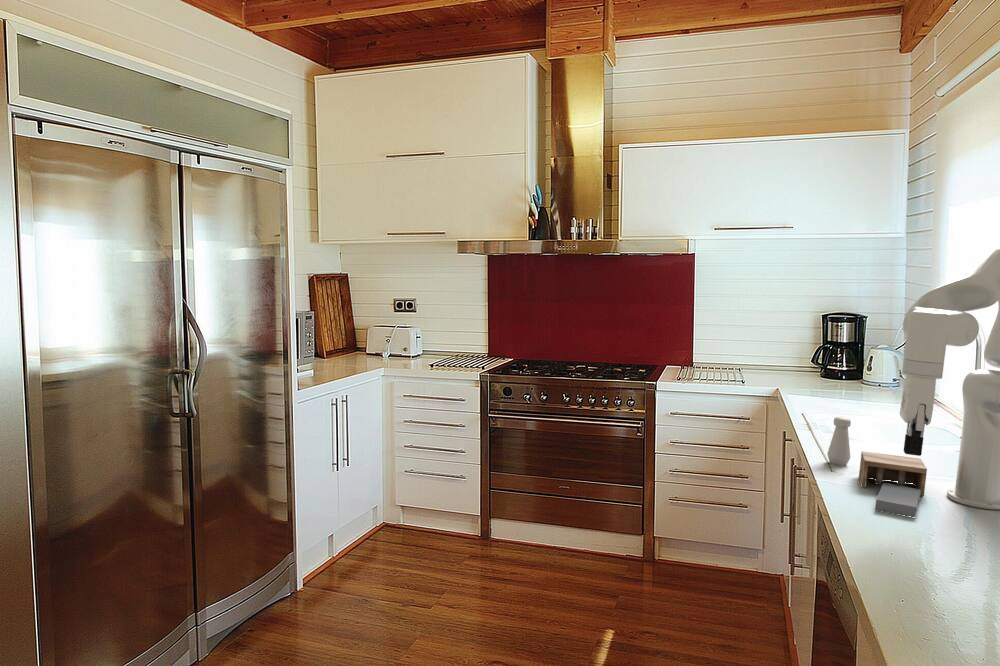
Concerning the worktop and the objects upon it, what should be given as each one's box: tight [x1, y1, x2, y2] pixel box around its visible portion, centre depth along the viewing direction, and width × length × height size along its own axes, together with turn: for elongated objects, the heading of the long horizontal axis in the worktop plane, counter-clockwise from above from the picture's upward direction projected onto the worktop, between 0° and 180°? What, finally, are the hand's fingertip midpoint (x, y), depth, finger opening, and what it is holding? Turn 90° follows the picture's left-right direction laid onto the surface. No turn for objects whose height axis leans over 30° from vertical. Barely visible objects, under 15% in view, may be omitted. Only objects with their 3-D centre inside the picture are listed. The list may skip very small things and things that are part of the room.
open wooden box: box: [858, 450, 928, 497], centre depth 192 cm, size 10×14×7 cm
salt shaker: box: [826, 416, 852, 467], centre depth 210 cm, size 6×6×13 cm
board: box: [874, 482, 921, 518], centre depth 178 cm, size 16×8×3 cm, turn 148°
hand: (912, 453), depth 164 cm, fingers closed
